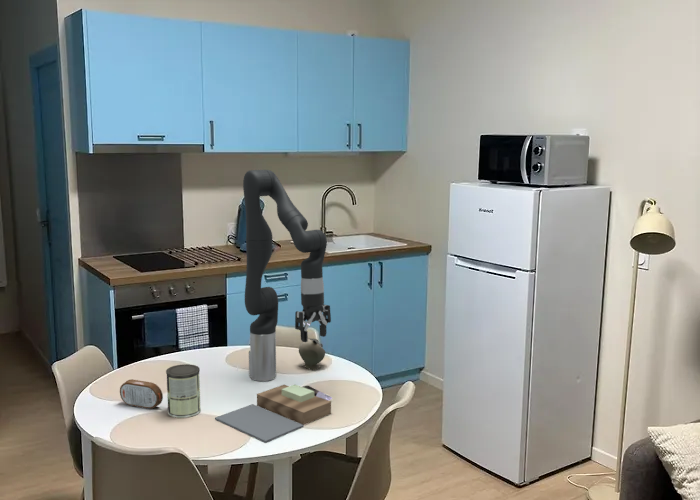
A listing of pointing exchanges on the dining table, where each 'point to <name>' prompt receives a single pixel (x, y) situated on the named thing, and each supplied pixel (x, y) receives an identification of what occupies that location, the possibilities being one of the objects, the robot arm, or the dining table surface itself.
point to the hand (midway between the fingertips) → (313, 338)
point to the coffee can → (183, 390)
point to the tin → (141, 394)
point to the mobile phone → (319, 393)
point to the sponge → (298, 393)
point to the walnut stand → (293, 406)
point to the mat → (259, 423)
